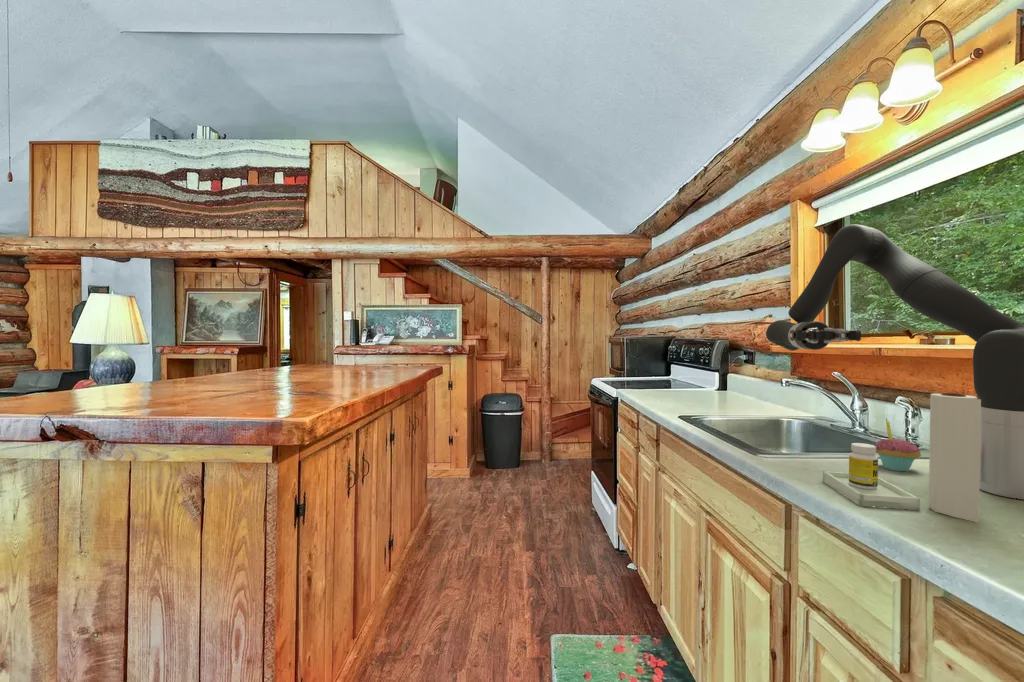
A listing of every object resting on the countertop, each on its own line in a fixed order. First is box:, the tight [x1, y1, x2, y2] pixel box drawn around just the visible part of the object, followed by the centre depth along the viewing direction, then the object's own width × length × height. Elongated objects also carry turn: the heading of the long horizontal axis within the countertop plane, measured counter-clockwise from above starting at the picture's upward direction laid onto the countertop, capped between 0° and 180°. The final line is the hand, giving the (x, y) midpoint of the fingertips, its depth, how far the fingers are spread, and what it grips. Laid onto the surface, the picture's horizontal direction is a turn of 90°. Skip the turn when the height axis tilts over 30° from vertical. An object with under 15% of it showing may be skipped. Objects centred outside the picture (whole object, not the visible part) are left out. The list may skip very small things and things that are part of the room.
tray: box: [822, 470, 921, 512], centre depth 91 cm, size 10×15×2 cm, turn 168°
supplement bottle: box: [848, 442, 879, 489], centre depth 93 cm, size 5×5×8 cm
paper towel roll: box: [928, 392, 981, 524], centre depth 82 cm, size 7×6×21 cm
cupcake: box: [873, 417, 922, 472], centre depth 110 cm, size 9×8×12 cm
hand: (838, 335), depth 108 cm, fingers open, 8 cm apart
